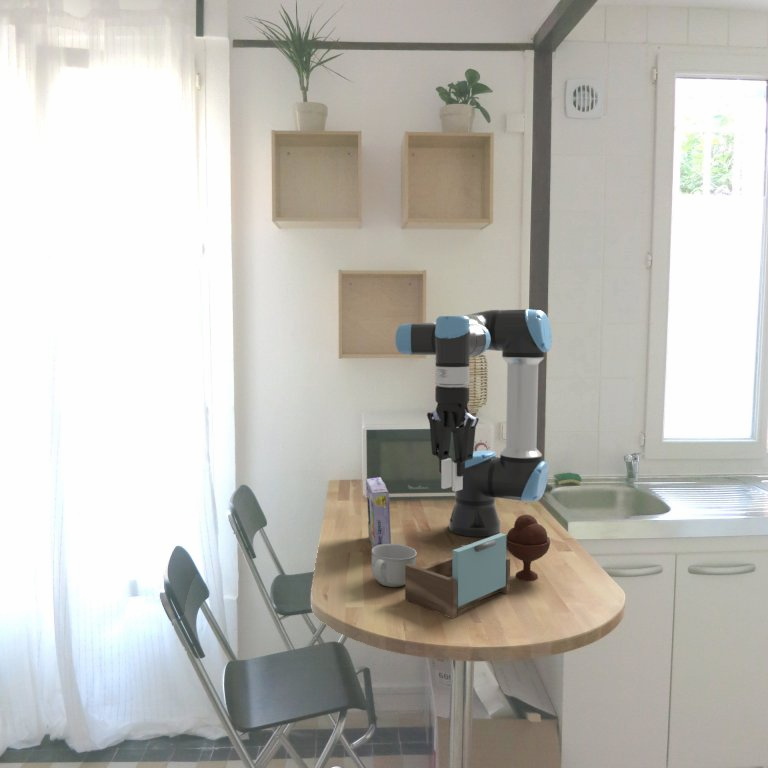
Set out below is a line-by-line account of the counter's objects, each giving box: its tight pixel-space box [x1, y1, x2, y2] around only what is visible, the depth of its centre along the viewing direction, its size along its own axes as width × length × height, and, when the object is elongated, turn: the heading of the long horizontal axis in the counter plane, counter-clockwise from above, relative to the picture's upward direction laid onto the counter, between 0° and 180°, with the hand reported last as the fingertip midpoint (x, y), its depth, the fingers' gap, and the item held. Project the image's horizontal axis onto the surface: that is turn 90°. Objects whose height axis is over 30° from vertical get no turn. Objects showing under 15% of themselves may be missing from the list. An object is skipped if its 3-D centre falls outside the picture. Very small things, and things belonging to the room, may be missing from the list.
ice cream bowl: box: [506, 514, 551, 582], centre depth 174 cm, size 11×11×15 cm
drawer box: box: [404, 544, 511, 619], centre depth 162 cm, size 20×14×8 cm
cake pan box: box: [365, 477, 392, 549], centre depth 197 cm, size 19×5×18 cm, turn 7°
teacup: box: [371, 543, 418, 588], centre depth 170 cm, size 14×11×8 cm
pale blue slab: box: [452, 532, 507, 607], centre depth 157 cm, size 17×3×12 cm, turn 134°
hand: (451, 488), depth 162 cm, fingers open, 3 cm apart
